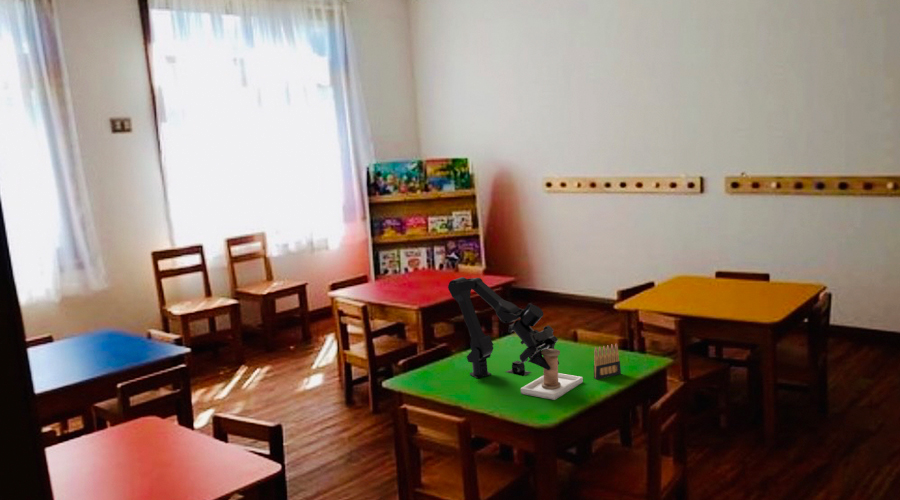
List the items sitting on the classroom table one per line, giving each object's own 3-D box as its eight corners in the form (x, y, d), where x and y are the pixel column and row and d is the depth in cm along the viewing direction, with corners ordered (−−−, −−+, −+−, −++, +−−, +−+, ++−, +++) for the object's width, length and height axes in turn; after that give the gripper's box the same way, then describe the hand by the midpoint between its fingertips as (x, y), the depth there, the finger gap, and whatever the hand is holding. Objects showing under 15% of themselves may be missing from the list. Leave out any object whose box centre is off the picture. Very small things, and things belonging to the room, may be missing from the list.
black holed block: (536, 373, 279) (536, 362, 278) (524, 379, 274) (523, 367, 273) (513, 368, 288) (512, 357, 287) (500, 373, 283) (499, 362, 283)
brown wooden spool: (538, 387, 259) (537, 353, 257) (546, 381, 265) (545, 347, 263) (556, 390, 256) (555, 355, 254) (563, 384, 262) (562, 349, 260)
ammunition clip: (596, 379, 266) (594, 348, 264) (593, 378, 267) (592, 347, 265) (621, 374, 269) (619, 343, 267) (618, 372, 271) (616, 342, 269)
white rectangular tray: (554, 400, 249) (554, 394, 248) (520, 393, 258) (520, 388, 257) (582, 382, 264) (582, 377, 263) (550, 376, 273) (549, 371, 272)
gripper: (524, 326, 252) (553, 361, 247) (552, 314, 266) (580, 346, 261) (507, 345, 259) (535, 379, 253) (535, 332, 273) (562, 364, 267)
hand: (554, 366), depth 259 cm, fingers closed on brown wooden spool, 6 cm apart
